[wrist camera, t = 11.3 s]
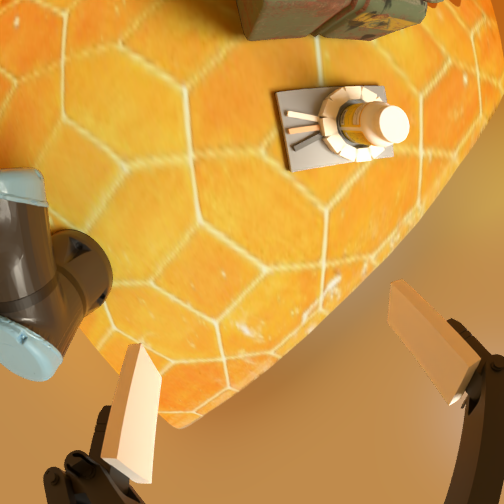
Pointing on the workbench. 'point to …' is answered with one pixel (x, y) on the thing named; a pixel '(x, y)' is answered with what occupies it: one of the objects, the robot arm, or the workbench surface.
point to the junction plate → (312, 107)
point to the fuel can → (328, 18)
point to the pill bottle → (373, 123)
